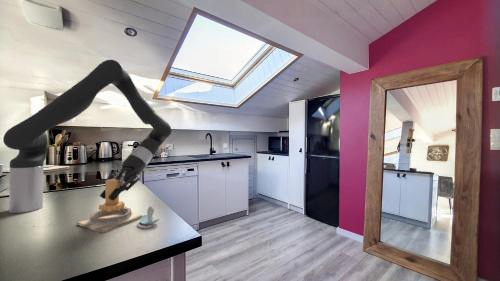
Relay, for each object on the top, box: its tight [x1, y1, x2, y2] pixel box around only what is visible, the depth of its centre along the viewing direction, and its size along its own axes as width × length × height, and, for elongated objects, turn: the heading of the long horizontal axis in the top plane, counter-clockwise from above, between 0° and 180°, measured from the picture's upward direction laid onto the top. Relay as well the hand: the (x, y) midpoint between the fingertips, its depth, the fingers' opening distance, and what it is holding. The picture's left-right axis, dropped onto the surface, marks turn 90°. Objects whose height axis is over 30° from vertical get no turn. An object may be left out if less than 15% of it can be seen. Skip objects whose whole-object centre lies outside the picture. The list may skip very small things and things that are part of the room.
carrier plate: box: [76, 206, 144, 234], centre depth 74 cm, size 14×14×3 cm
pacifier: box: [136, 205, 160, 229], centre depth 71 cm, size 7×6×6 cm
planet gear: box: [98, 179, 126, 212], centre depth 74 cm, size 8×8×10 cm
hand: (106, 198), depth 72 cm, fingers closed on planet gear, 4 cm apart
